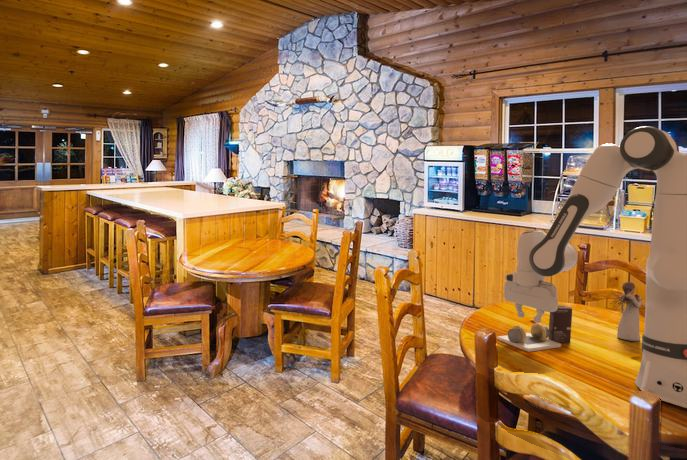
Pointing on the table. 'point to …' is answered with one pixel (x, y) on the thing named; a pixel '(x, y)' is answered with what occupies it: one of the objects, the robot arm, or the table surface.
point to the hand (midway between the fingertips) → (528, 319)
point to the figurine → (629, 313)
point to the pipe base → (529, 338)
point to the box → (560, 324)
